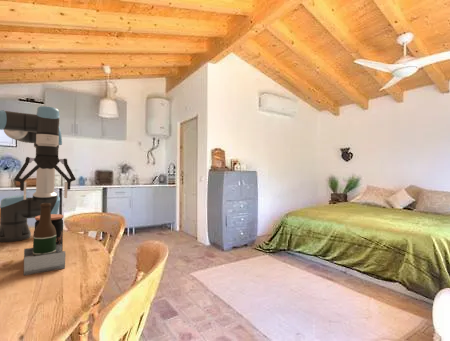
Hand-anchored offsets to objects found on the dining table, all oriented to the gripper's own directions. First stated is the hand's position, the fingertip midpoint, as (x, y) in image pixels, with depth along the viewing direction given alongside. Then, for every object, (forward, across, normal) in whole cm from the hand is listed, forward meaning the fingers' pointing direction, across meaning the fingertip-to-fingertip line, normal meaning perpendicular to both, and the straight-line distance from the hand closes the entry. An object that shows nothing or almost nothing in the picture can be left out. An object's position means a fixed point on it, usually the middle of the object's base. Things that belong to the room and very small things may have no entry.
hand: (46, 198), depth 105 cm
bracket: (+27, 0, 0) cm, 27 cm away
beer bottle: (+26, 0, 0) cm, 26 cm away
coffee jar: (+28, +2, +13) cm, 31 cm away
